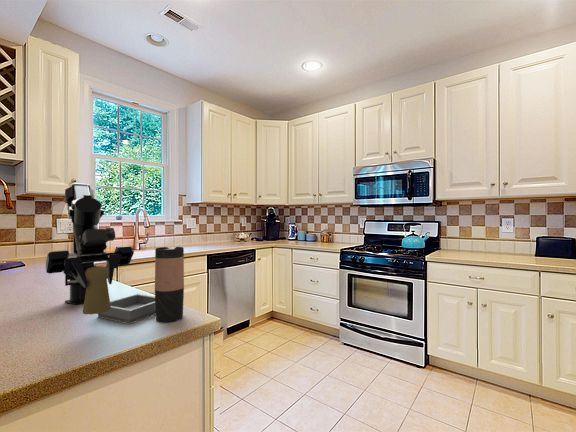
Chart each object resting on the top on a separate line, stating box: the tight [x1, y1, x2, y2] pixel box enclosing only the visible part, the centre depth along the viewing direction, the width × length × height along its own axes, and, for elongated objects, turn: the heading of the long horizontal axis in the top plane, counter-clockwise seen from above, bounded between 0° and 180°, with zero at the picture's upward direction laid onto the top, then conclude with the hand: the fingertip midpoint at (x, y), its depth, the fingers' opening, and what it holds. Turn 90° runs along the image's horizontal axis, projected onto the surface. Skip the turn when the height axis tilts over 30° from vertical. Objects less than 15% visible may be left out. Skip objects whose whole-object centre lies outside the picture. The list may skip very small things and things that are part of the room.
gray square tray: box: [97, 293, 156, 325], centre depth 87 cm, size 13×13×4 cm
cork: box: [82, 265, 111, 315], centre depth 74 cm, size 6×6×11 cm
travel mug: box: [154, 246, 185, 324], centre depth 83 cm, size 8×8×20 cm
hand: (98, 285), depth 73 cm, fingers closed on cork, 5 cm apart
